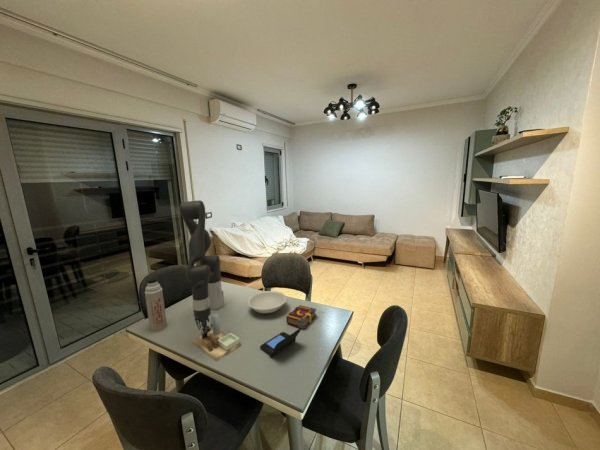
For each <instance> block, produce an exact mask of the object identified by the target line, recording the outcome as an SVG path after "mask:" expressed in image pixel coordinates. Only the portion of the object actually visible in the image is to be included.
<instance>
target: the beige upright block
mask: <svg viewBox="0 0 600 450" xmlns="http://www.w3.org/2000/svg"><path fill="white" fill-rule="evenodd" d="M214 339H218V340H219V337H218V336H216V335H215V334H211V335H209V336H207V337H205V338H204V339H202V346H204V347H205V348H206V349H208V343H209V342H212V344H213V340H214ZM213 346H214V345H213Z"/></svg>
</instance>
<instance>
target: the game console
mask: <svg viewBox="0 0 600 450" xmlns="http://www.w3.org/2000/svg"><path fill="white" fill-rule="evenodd" d="M301 331H302V328H298V329H296V330H295V331H294V332H292V333H291V334H289V333H287V332H285V331H282V332H280V333H278V334H277V335H275V336H274V337H272V338H270V339H269V340H267V341H266V342H264V343H262V344H261V345H260V346H259V348H260V350H261V351H263V352H264V353H265V354H267V355H269V356H270V357H271V358H273V357H274V356H276V355H278V354H279V353H280V352H282V351H283V350H284V349H285V348H287V347H289V346H290V345H291V344H293V343H295V342H296V340H297V339H296V338H297V336H298V335H299V333H300V332H301Z"/></svg>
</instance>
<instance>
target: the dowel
mask: <svg viewBox="0 0 600 450" xmlns="http://www.w3.org/2000/svg"><path fill="white" fill-rule="evenodd" d="M211 324H212V328H211V329H212V330H213V334H215V335H219V334H220V331H221V323H220V314H219V313H217V312H216V313H212V314H211Z"/></svg>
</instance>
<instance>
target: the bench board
mask: <svg viewBox="0 0 600 450" xmlns="http://www.w3.org/2000/svg"><path fill="white" fill-rule="evenodd" d="M211 334H213V329H211V330H210V332H208V333H207V335H208V336H209V335H211ZM226 335H228V334H227V333H225V332H223V331H222V330H220V334H219V335H216V336H218V337H219V339H221V338H222V337H224V336H226ZM192 343H193V344H194V345H196V347H198V348H199V349H201V350H202V352H204V353H206V354H207V355H208V356H209V357H211V358H212V359H213V360H215V362H217V361H219V360H220V359H222V358H223V357H225V356H226V355H229V354H230V353H231V352H233V351H235V350H236V349H238V348H240V347H241V342H240V343H239V344H238V345H236V346H234V347H233V348H231V349H230V350H228V351H226V350H225V349H223V348H222V347H220V346H219V345H218V339H214V340H213V344H212V342H209V343H208V349H206V348H205V347H204V346H202V335H200V336H198V337H196V338H194V339H192ZM213 345H214V346H213Z"/></svg>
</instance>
